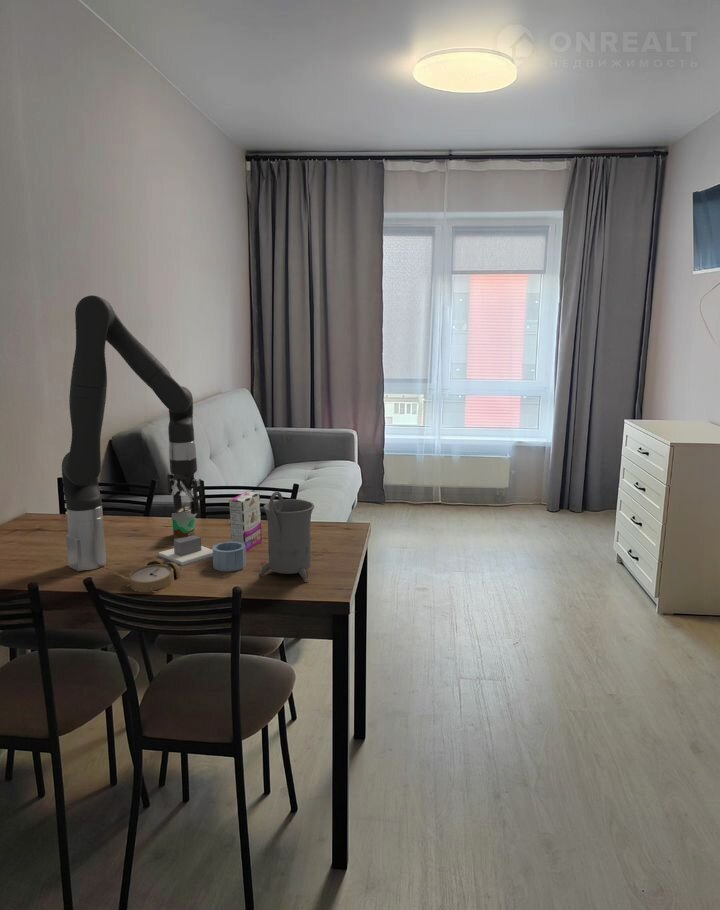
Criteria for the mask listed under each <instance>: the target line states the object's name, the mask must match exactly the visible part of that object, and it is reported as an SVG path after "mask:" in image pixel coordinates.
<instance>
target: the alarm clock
mask: <svg viewBox="0 0 720 910" xmlns="http://www.w3.org/2000/svg"><path fill="white" fill-rule="evenodd" d="M181 570H182V567H180V566H178V565H177V564H176V563H171V562H167V561H165V562H161V561H158V560H150V561H149V562H147V564H146V565H143V566H140V567H137V568H136V569H134V570H132V571H131V572H130V573H129V575H128V579H129V583H128V584H126V587H127V588H128V587H129V588H130V589H131V588H132V589H133V590H132V589H131V590H132V591H134V590H136V591H135V592H137V591H139V592H138V593H145V592H147V593H151V592H150V591H157V590H162V589H164V588H167V587H170V586H171V585H173V584H174V582H175V579H178V578H179V577H180V575H181ZM175 576H176V578H175Z"/></svg>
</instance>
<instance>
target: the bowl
mask: <svg viewBox="0 0 720 910" xmlns="http://www.w3.org/2000/svg"><path fill="white" fill-rule="evenodd" d="M211 547H212V548H211V549H212V552H213V558H212V566H213V569H214V570H217V571H220V572H232V571H233V572H234V573H236V572H241V571H243V570H244V569H245V567H246V566H247V552H246V546H245V544H243V543H241V542H232V541H231V540H230V541H224V542H223V541H222V542H218V543H216V544H214V545H213V546H211Z"/></svg>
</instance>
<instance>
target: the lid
mask: <svg viewBox="0 0 720 910" xmlns="http://www.w3.org/2000/svg"><path fill="white" fill-rule="evenodd" d="M158 555H159V556H161V557H163V558H166V559H168V560H171V561H173V562H175V563H178V564H180V565H185V564H188V563H191V562H195V561H198V560H201V559H205V558H208V557H211V556H213V552H212V548H209V547H206V546H203V545H202V537H200V536H197V535H195V534H194V535H192V536H189V537H185V538H181V539H178V540H174V539H173V548H170V549H167V550H163V551H159V552H158Z"/></svg>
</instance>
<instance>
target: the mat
mask: <svg viewBox="0 0 720 910" xmlns="http://www.w3.org/2000/svg"><path fill="white" fill-rule="evenodd" d="M154 557H156V558H158V559H161V560H163V561H165V562H171V563H175V562H173V561H171V560H168V559H166V558H163V557H161V556H159V554H156V555H154ZM210 559H213V556H211V557H208V558H205V559H201V560H198V561H195V562H191V563H188V564H185V565H180V564H178V563H176V564H177V565H178V566H179V568H183V567H186V566H189V565H192V564H197V563H199V562H202V561H205V560H206V561H207V560H210Z"/></svg>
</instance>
